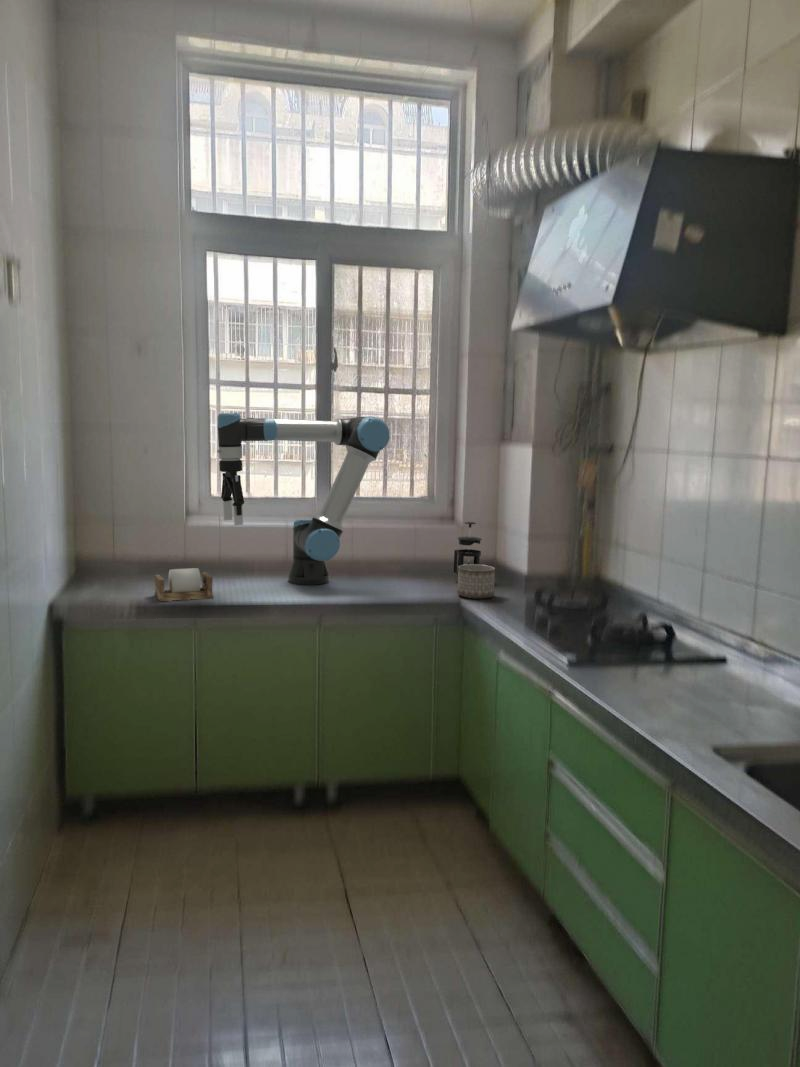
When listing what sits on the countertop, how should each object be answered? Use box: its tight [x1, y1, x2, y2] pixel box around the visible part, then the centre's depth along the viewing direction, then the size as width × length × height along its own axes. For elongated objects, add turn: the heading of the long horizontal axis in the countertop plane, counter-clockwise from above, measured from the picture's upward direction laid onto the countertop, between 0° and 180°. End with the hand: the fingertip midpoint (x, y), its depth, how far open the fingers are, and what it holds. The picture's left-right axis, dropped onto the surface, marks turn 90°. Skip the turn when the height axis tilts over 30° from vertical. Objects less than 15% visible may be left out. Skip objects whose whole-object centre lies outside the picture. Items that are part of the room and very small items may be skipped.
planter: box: [456, 563, 496, 599], centre depth 286 cm, size 13×13×10 cm
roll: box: [168, 567, 202, 593], centre depth 273 cm, size 9×8×8 cm
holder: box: [154, 571, 214, 602], centre depth 273 cm, size 17×11×7 cm, turn 116°
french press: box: [453, 521, 482, 584], centre depth 310 cm, size 12×9×23 cm
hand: (233, 522), depth 279 cm, fingers open, 13 cm apart
